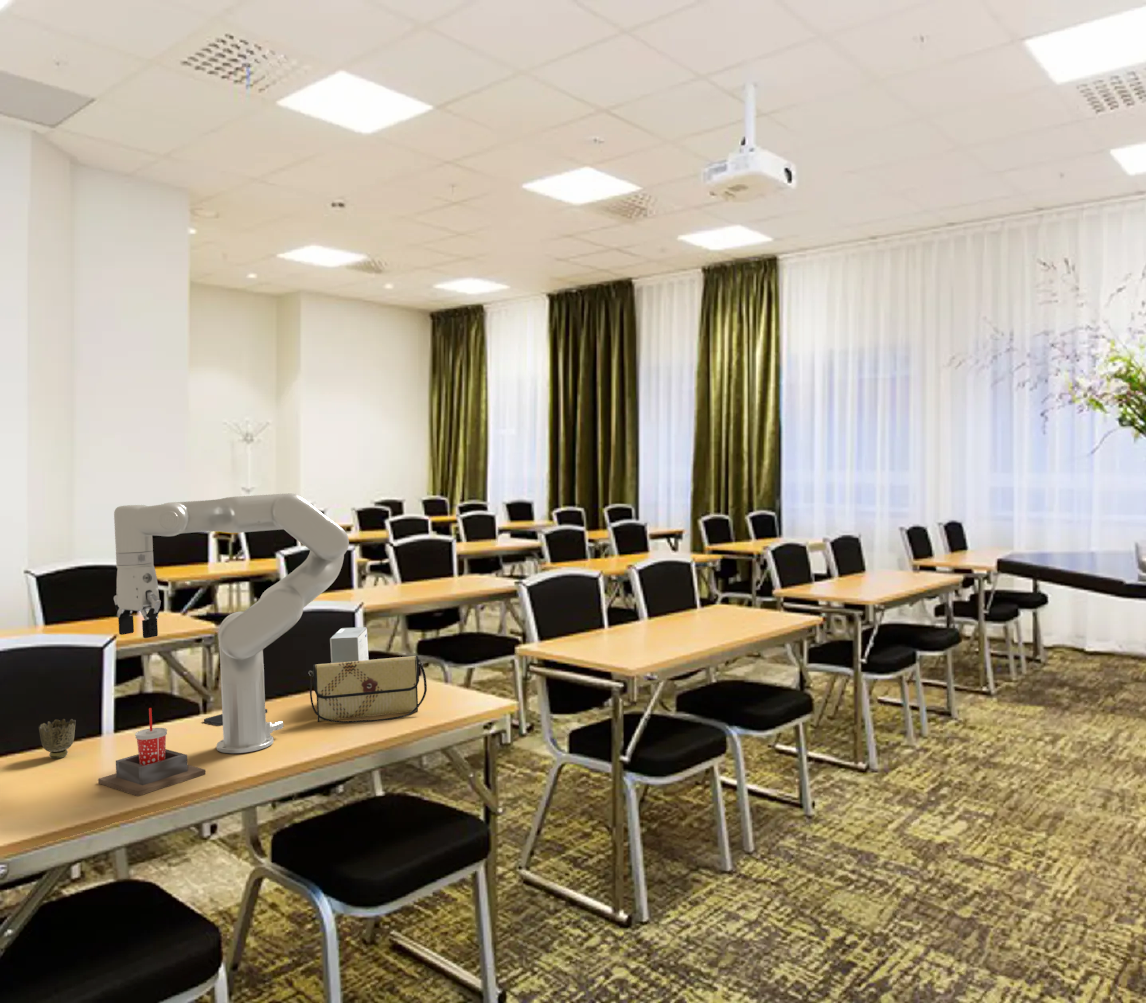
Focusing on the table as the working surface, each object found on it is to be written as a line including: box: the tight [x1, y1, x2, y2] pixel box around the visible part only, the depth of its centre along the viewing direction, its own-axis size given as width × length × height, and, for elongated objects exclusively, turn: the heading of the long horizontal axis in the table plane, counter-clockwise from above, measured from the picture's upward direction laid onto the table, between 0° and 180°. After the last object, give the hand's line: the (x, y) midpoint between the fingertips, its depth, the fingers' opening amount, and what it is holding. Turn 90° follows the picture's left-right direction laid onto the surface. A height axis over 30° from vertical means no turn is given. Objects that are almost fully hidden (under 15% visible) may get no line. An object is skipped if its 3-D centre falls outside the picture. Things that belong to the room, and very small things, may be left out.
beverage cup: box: [134, 707, 168, 766], centre depth 189 cm, size 6×6×14 cm
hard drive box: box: [329, 626, 370, 663], centre depth 248 cm, size 16×8×20 cm, turn 3°
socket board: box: [97, 748, 206, 797], centre depth 189 cm, size 15×15×4 cm
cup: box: [38, 718, 76, 760], centre depth 207 cm, size 8×7×8 cm
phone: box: [203, 708, 268, 727], centre depth 237 cm, size 8×1×15 cm
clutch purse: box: [308, 655, 428, 724], centre depth 232 cm, size 30×7×15 cm, turn 106°
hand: (138, 635), depth 202 cm, fingers open, 9 cm apart
